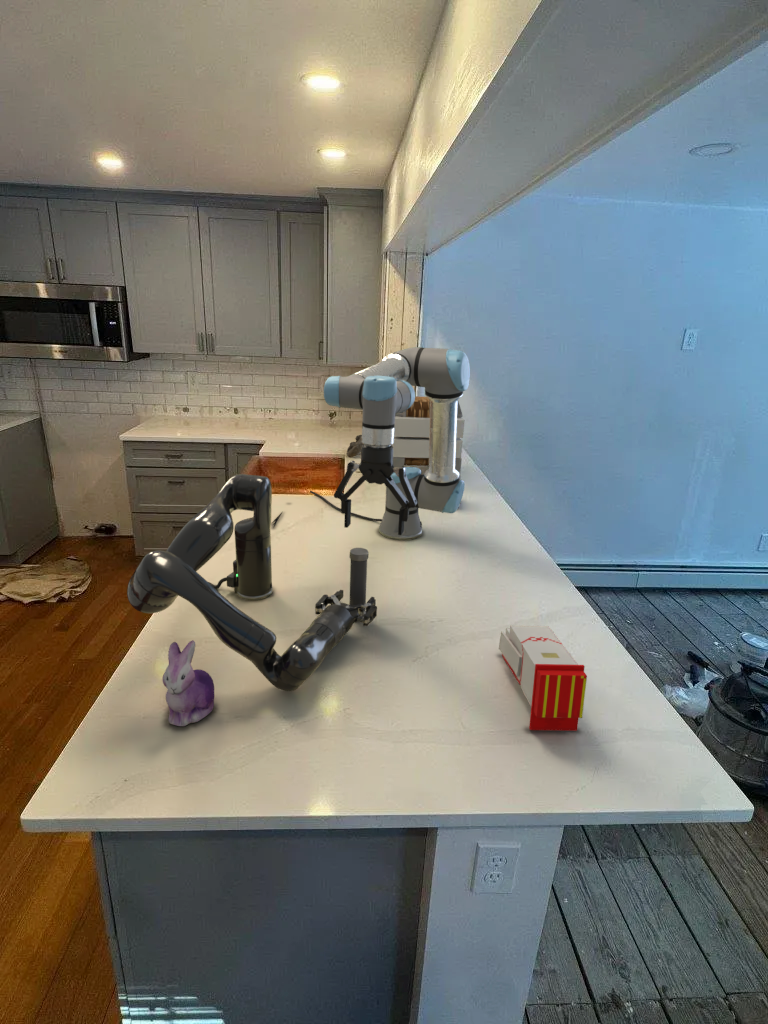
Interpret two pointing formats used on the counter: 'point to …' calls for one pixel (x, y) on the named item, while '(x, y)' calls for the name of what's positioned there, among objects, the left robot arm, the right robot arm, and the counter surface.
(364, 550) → the lid
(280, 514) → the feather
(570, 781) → the counter surface
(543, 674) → the toy
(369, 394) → the right robot arm
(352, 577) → the dark gray cylinder
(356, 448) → the fossil
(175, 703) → the figurine
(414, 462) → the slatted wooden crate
